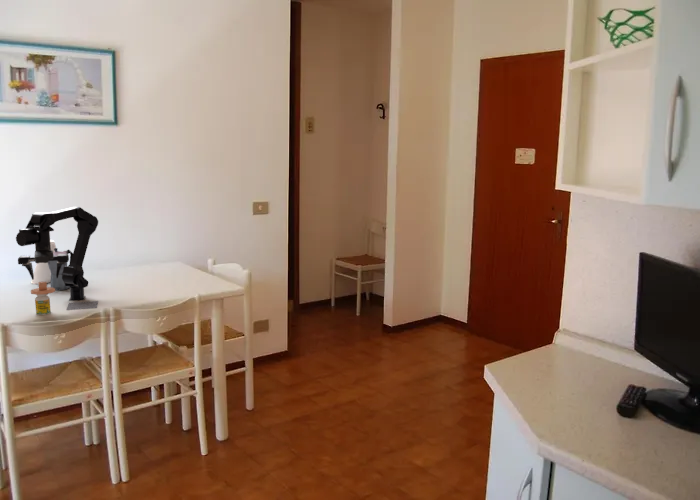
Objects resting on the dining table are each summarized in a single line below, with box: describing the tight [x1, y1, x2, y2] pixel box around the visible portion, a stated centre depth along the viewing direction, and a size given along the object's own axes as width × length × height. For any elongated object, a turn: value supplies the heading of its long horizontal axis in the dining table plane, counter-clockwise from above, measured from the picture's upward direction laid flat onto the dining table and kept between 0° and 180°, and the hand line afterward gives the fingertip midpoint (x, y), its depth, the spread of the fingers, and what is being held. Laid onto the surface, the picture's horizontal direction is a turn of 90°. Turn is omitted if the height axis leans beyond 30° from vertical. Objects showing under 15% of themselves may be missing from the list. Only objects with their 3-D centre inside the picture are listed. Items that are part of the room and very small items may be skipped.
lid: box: [30, 282, 56, 296], centre depth 246 cm, size 9×9×4 cm
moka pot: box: [47, 247, 73, 291], centre depth 290 cm, size 10×15×20 cm, turn 158°
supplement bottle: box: [34, 294, 52, 316], centre depth 247 cm, size 5×5×10 cm
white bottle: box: [30, 239, 57, 285], centre depth 301 cm, size 12×11×25 cm
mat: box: [66, 300, 99, 311], centre depth 260 cm, size 12×12×1 cm
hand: (45, 278), depth 254 cm, fingers open, 9 cm apart
